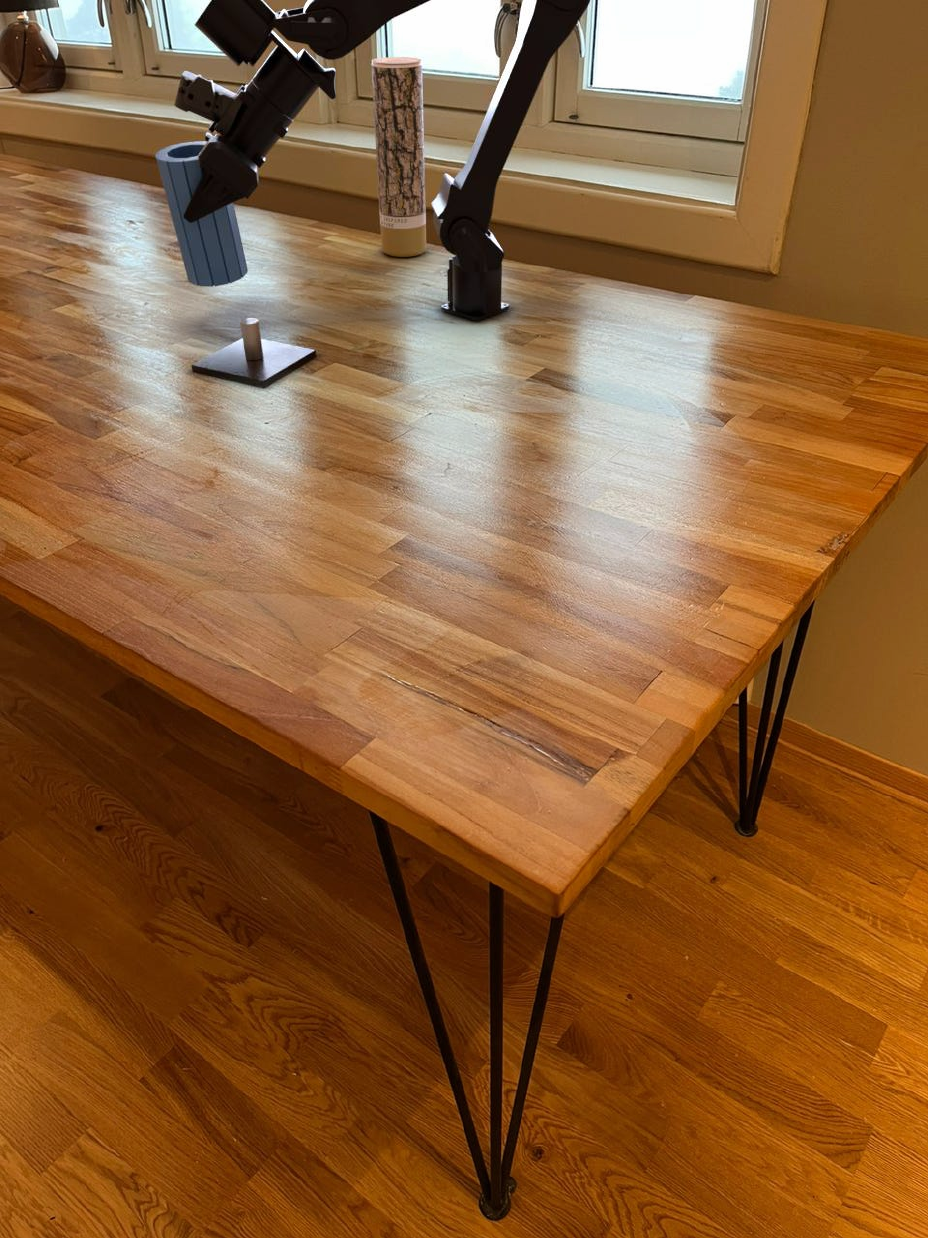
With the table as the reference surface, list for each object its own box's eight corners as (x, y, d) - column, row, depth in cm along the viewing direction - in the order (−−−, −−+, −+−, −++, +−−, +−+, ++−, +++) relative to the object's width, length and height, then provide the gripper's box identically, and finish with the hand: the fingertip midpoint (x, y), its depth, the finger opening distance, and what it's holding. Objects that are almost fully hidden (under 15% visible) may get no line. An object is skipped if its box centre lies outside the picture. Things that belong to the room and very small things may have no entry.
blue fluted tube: (255, 262, 115) (230, 140, 106) (234, 287, 110) (205, 161, 101) (202, 261, 117) (172, 140, 107) (178, 285, 112) (144, 161, 102)
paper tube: (420, 259, 137) (414, 64, 122) (376, 256, 139) (365, 62, 123) (431, 246, 143) (426, 57, 128) (388, 244, 144) (379, 56, 129)
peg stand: (316, 356, 108) (312, 313, 105) (264, 388, 101) (258, 343, 98) (247, 342, 112) (241, 300, 109) (192, 371, 105) (184, 327, 102)
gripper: (216, 31, 106) (138, 142, 111) (205, 51, 91) (115, 178, 97) (294, 107, 112) (216, 209, 117) (295, 137, 97) (206, 252, 102)
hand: (189, 210), depth 108 cm, fingers closed on blue fluted tube, 7 cm apart
